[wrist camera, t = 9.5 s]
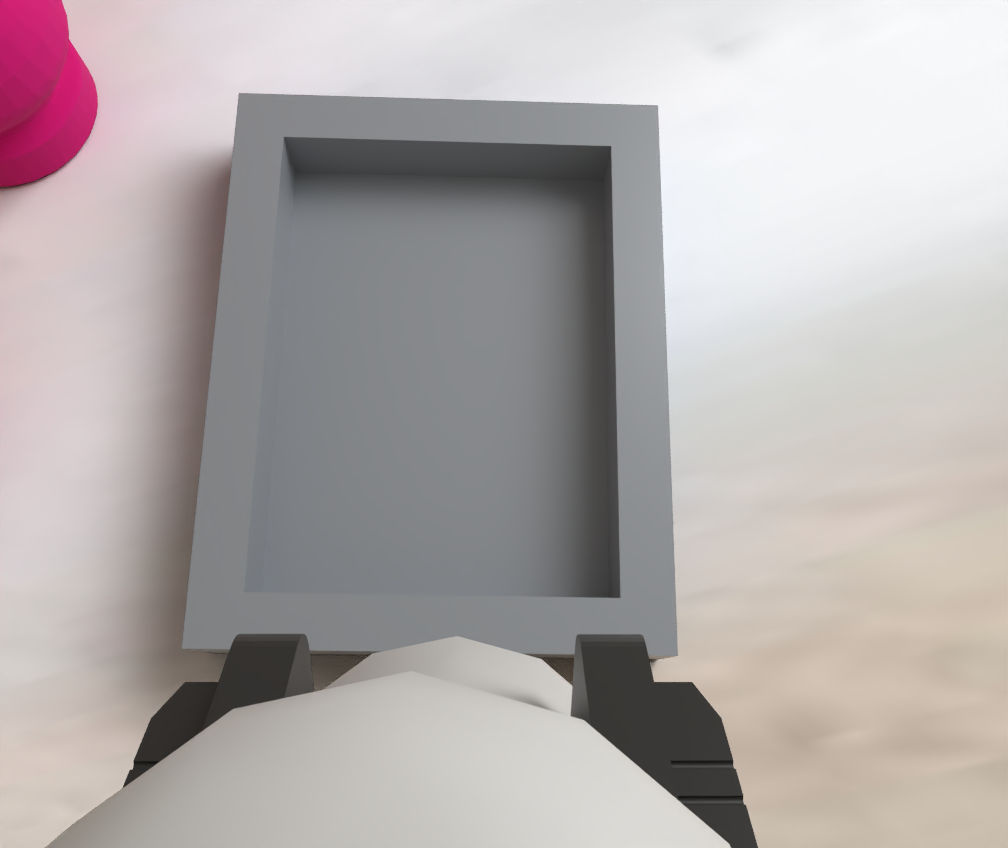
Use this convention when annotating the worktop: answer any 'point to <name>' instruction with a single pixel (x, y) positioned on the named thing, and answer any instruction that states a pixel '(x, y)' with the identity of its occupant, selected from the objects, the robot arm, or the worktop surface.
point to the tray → (437, 380)
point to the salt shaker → (401, 768)
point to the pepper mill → (40, 91)
